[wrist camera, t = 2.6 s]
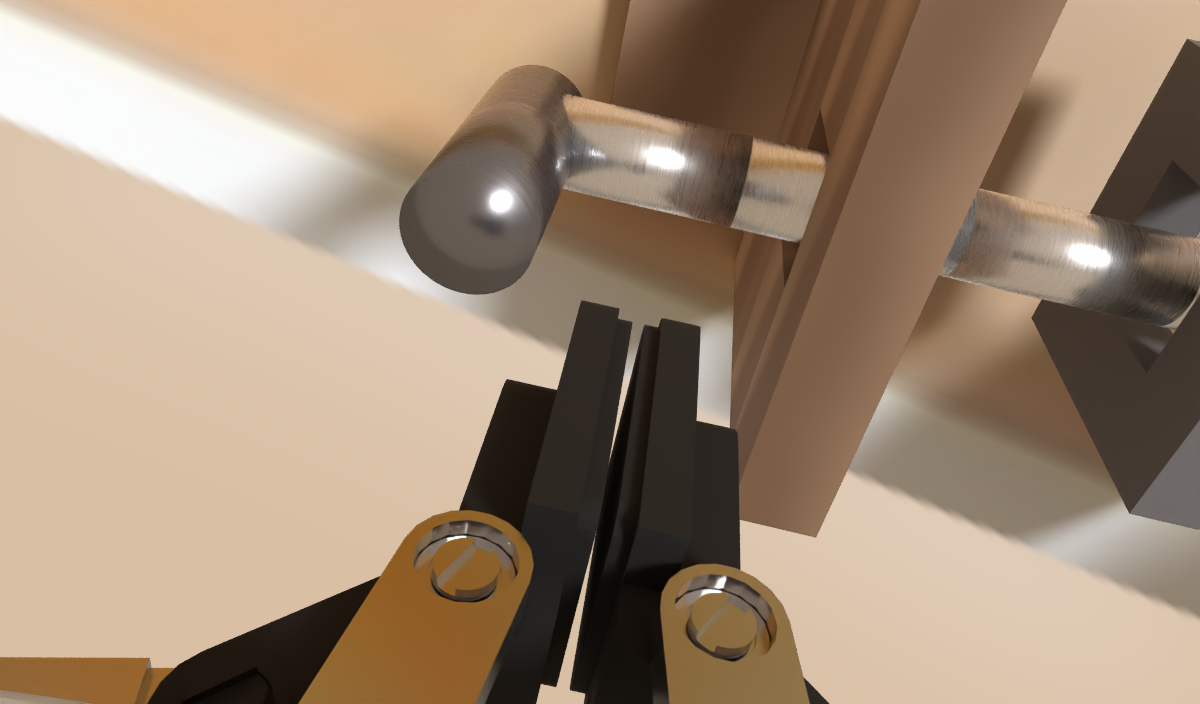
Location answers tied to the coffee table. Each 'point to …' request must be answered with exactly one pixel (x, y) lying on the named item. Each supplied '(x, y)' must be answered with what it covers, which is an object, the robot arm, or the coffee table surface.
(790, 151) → the shaft
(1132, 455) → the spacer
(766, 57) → the bracket
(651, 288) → the coffee table surface
